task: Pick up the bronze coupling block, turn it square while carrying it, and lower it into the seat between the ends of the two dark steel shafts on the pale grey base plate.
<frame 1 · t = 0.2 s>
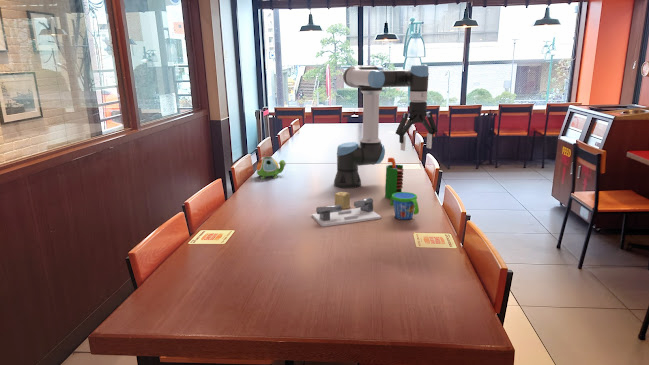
hand: (416, 149, 191), 28 cm above the table, tool pointing down, fingers open, 13 cm apart
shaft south: (329, 220, 182), resting on base plate
coupling block: (342, 207, 199), on the table
base plate: (347, 217, 185), on the table
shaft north: (363, 213, 191), resting on base plate
snack cup: (403, 217, 185), on the table
turtle holder: (270, 176, 259), on the table
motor: (393, 197, 215), on the table
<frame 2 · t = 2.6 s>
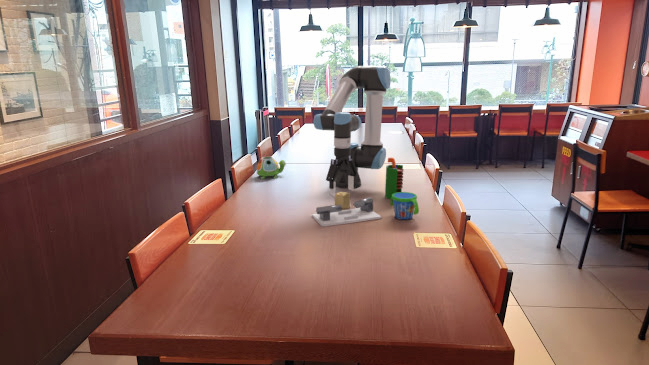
hand: (342, 192, 197), 8 cm above the table, tool pointing down, fingers open, 13 cm apart
nothing on the table moved.
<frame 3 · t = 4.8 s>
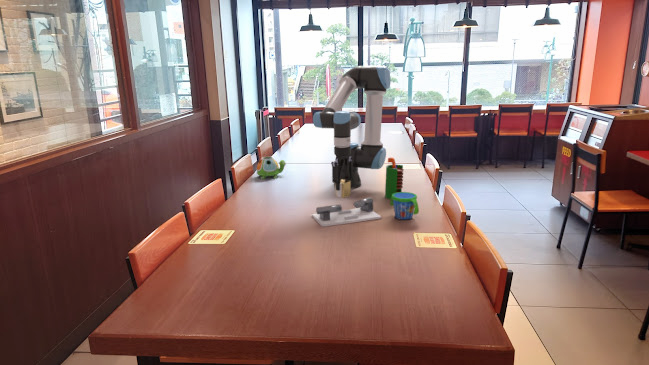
hand: (342, 194, 198), 6 cm above the table, tool pointing down, fingers closed on coupling block, 5 cm apart
coupling block: (343, 195, 198), point 6 cm above the table, touching gripper
everything else where it was.
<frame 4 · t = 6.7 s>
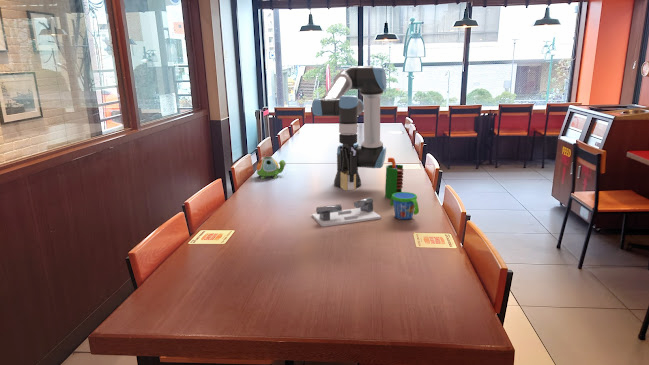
hand: (348, 187, 182), 14 cm above the table, tool pointing down, fingers closed on coupling block, 5 cm apart
coupling block: (348, 188, 182), point 13 cm above the table, touching gripper
everything else where it was.
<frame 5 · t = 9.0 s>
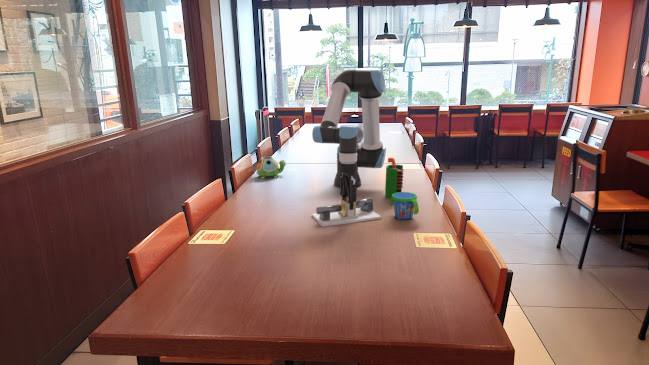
hand: (348, 214, 185), 2 cm above the table, tool pointing down, fingers closed on base plate, coupling block, 5 cm apart
coupling block: (348, 215, 185), point 1 cm above the table, touching gripper
everything else where it was.
when the fingers open (2 cm above the table, at t = 10.2 s): coupling block stays where it is, resting on base plate.
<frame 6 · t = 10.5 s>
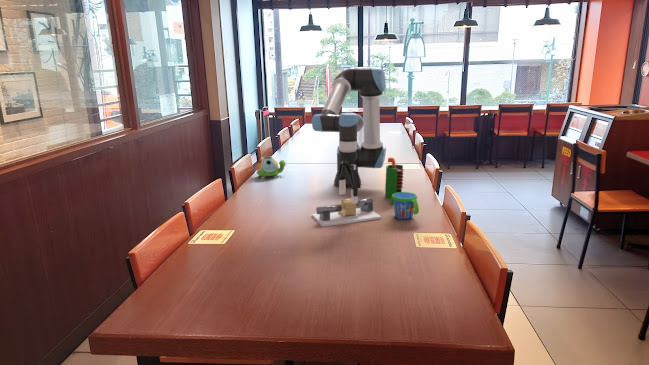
hand: (348, 198, 183), 9 cm above the table, tool pointing down, fingers open, 13 cm apart
coupling block: (348, 215, 185), point 1 cm above the table, touching base plate
everything else where it was.
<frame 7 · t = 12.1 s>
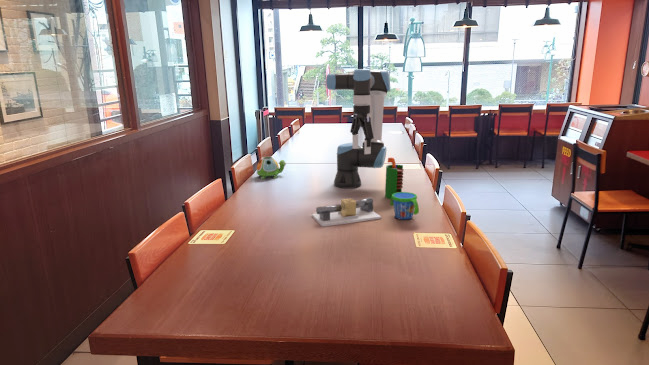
hand: (361, 151, 196), 26 cm above the table, tool pointing down, fingers open, 13 cm apart
nothing on the table moved.
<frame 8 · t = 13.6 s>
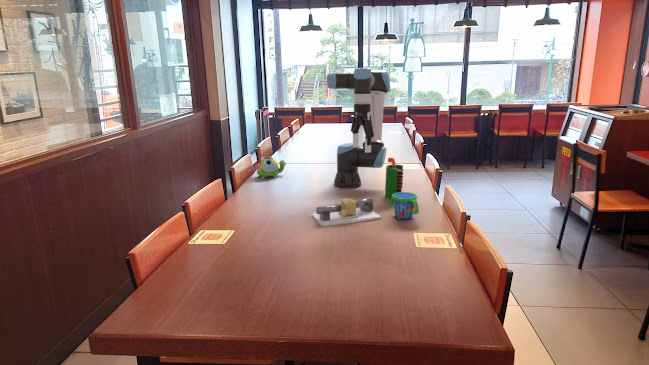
hand: (361, 149, 196), 27 cm above the table, tool pointing down, fingers open, 13 cm apart
nothing on the table moved.
at the end: coupling block 0.2 cm off-centre on the base plate, point 1.0 cm above the base plate's base; coupling block tilted 0°; the gripper is holding nothing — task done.
